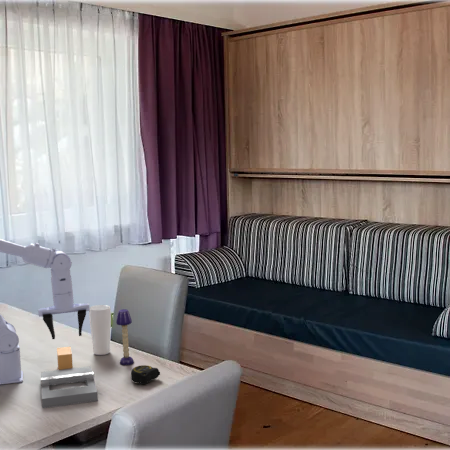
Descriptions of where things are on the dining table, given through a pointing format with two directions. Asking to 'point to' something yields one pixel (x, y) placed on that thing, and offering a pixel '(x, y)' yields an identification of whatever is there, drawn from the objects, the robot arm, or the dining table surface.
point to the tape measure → (144, 374)
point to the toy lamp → (125, 335)
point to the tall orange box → (64, 358)
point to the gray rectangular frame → (68, 389)
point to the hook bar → (67, 378)
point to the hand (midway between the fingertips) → (67, 336)
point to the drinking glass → (100, 328)
